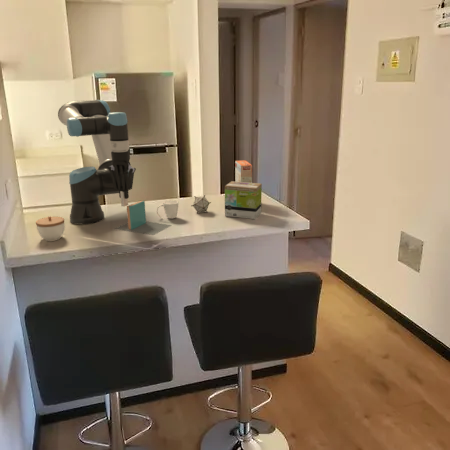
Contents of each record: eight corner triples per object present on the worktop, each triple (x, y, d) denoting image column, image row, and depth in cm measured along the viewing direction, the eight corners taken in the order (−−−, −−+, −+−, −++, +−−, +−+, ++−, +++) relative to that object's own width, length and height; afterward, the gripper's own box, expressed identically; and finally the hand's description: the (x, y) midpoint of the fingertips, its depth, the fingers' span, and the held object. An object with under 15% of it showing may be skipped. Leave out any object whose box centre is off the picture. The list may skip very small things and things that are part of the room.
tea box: (224, 217, 217) (223, 185, 212) (231, 211, 226) (230, 180, 221) (256, 219, 212) (256, 187, 207) (261, 213, 221) (262, 182, 216)
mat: (114, 229, 201) (114, 228, 201) (134, 220, 213) (134, 219, 212) (153, 236, 192) (153, 235, 192) (171, 226, 204) (171, 225, 204)
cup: (180, 221, 211) (179, 203, 209) (157, 222, 210) (156, 205, 207) (178, 216, 218) (177, 199, 216) (156, 218, 216) (155, 201, 214)
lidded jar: (32, 240, 190) (29, 217, 187) (55, 232, 199) (52, 211, 196) (49, 245, 184) (46, 222, 181) (71, 237, 193) (69, 215, 190)
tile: (128, 229, 200) (126, 206, 197) (142, 222, 208) (141, 200, 205) (132, 229, 199) (130, 206, 196) (146, 223, 207) (144, 201, 204)
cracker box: (252, 207, 231) (252, 164, 225) (240, 207, 230) (240, 165, 224) (246, 199, 245) (246, 159, 238) (235, 200, 244) (234, 160, 237)
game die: (204, 220, 224) (208, 207, 216) (187, 214, 224) (190, 200, 216) (210, 207, 229) (214, 194, 221) (194, 201, 230) (197, 187, 222)
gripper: (101, 151, 196) (107, 206, 203) (127, 152, 190) (131, 209, 197) (113, 148, 202) (118, 202, 209) (138, 150, 196) (142, 205, 204)
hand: (124, 205), depth 203 cm, fingers closed
